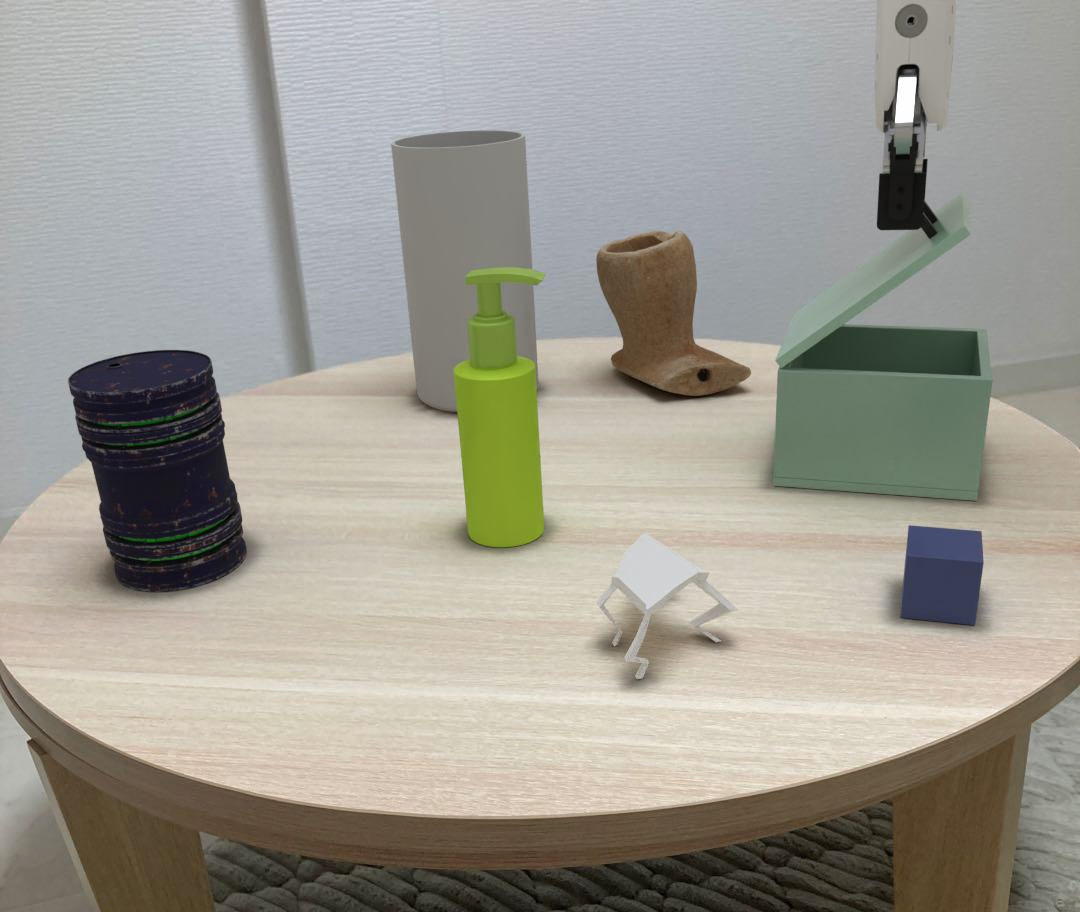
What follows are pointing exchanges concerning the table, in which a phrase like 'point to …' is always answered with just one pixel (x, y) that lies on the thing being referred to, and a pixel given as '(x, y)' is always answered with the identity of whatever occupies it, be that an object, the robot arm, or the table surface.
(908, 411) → the green box
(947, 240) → the box lid
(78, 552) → the table surface
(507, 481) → the soap dispenser
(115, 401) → the dark blue cylinder
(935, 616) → the blue block
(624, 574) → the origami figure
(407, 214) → the cylinder vase
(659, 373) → the clay pipe
